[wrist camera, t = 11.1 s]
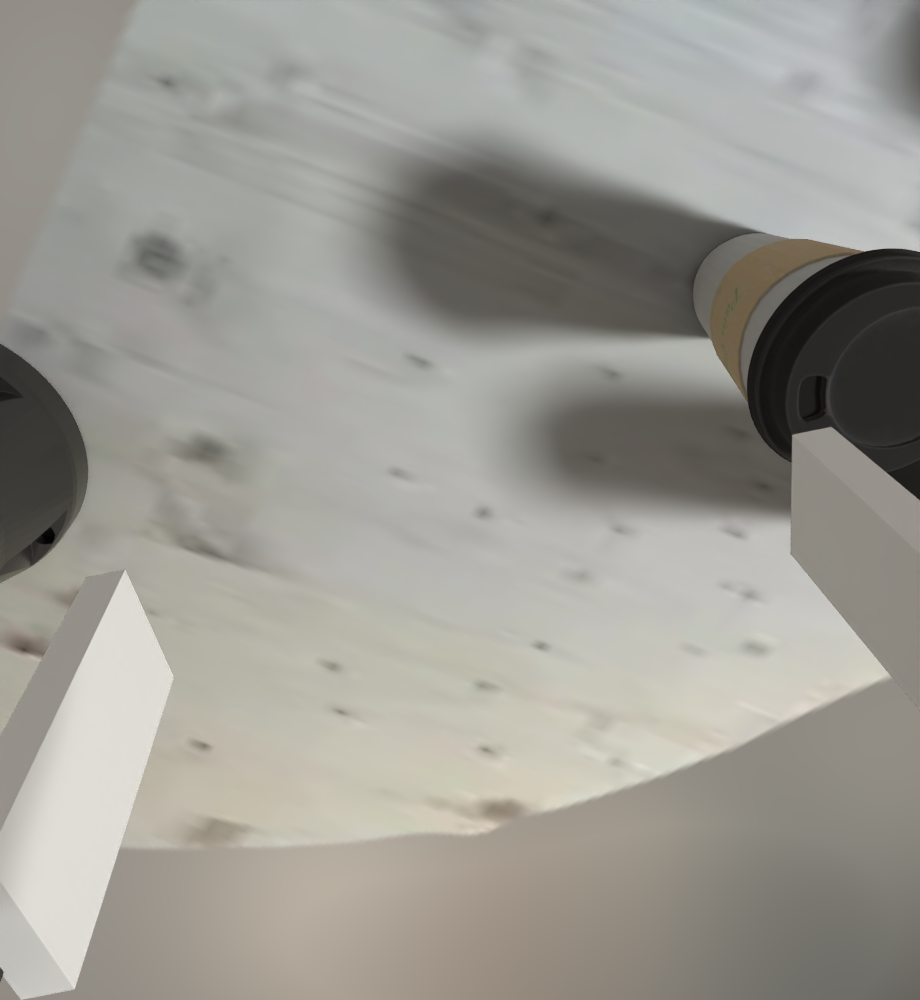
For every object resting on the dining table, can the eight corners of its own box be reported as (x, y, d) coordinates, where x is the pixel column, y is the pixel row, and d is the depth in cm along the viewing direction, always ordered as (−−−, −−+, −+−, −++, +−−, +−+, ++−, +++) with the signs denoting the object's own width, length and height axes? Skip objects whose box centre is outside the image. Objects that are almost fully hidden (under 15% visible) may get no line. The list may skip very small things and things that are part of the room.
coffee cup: (627, 274, 45) (721, 368, 32) (783, 156, 42) (955, 204, 29) (714, 402, 49) (831, 533, 35) (862, 300, 46) (1045, 400, 33)
